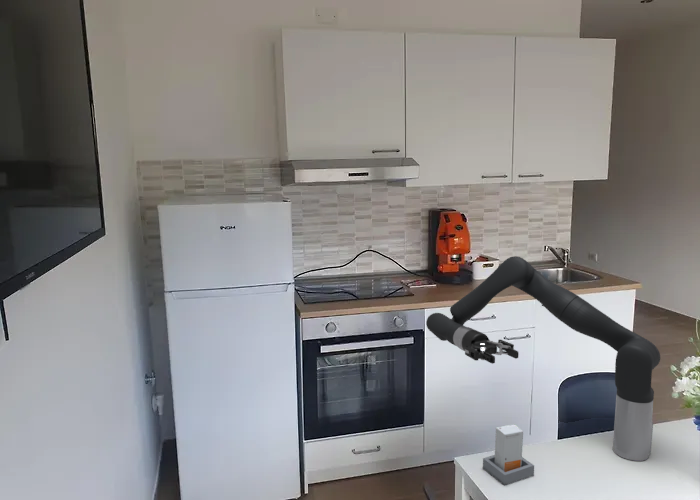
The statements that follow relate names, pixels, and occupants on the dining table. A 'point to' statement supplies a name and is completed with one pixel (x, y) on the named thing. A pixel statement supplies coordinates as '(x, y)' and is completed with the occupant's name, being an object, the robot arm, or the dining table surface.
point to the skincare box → (508, 447)
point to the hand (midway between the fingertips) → (506, 357)
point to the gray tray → (509, 476)
